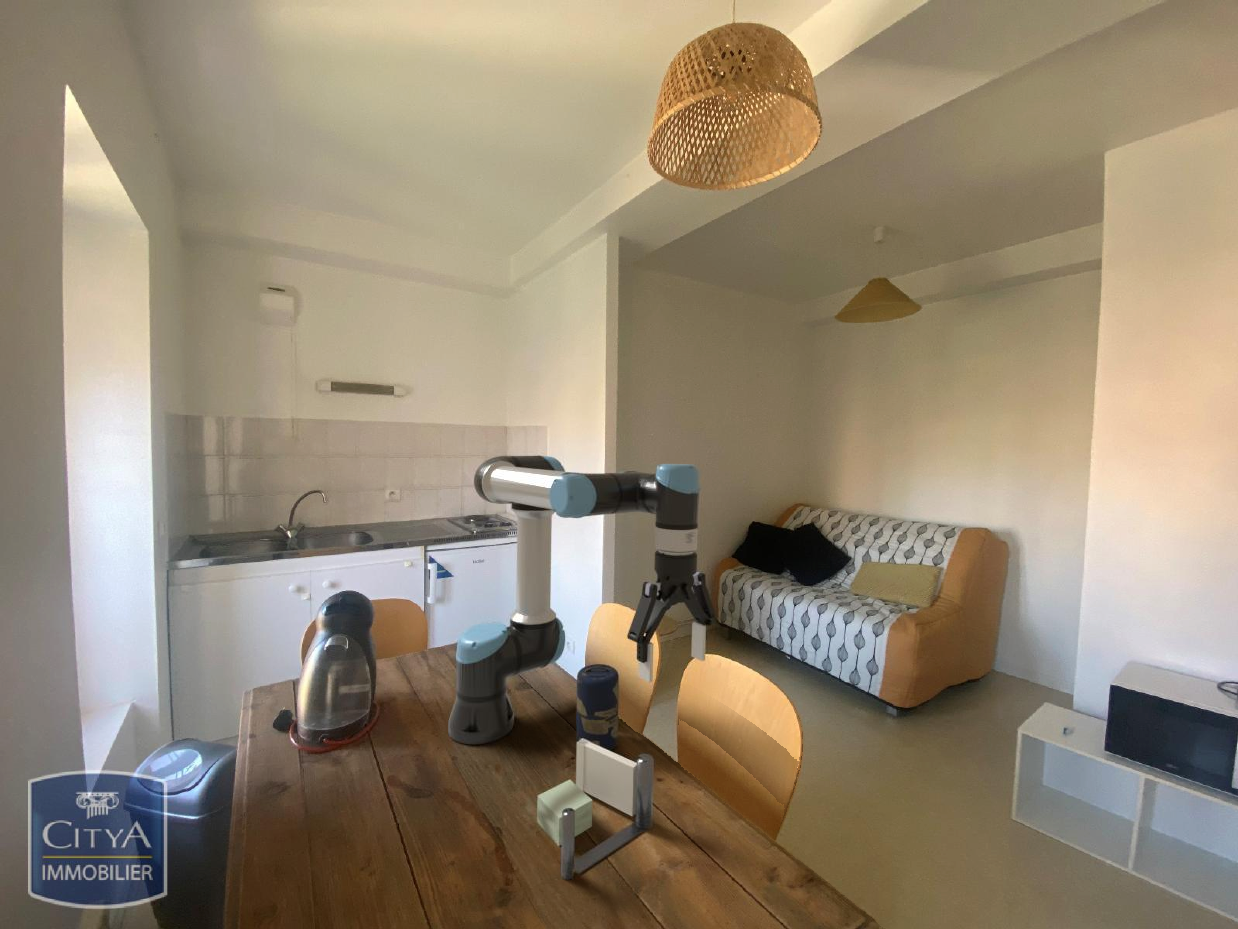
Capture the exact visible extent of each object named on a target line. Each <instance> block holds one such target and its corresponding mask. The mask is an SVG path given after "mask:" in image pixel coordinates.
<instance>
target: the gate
mask: <svg viewBox="0 0 1238 929" xmlns="http://www.w3.org/2000/svg"><path fill="white" fill-rule="evenodd" d="M575 757H576V762H575V763H576V764H575V767H576V768H575V770H576V771H575V785H576V786H578V787H579V788H580V789H581V790H582V791H583V792H584V793H585V794H586V793H587V794H588V795H590V796H592V797H594V798H596V799H598V800H600V801H602V802H604V803H606V804H608V805H609V806H611V807H613V808H615V809H617V810H618V811H620V812H623V813H625V814H626V815H629V816H630V817H634V815H636V777H637V761H633V760H631V759H628V758H626V757H624V756H622V755H620V754H617V753H615V752H613V751H612V750H611V751H609V750H607V749H604V748H602V747H600V746H598V745H595V744H593V743H591V742H590V741H588V740H585V739H583V738H582V739H581V740H580V741H578V742H577V741H576V756H575Z"/></svg>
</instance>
